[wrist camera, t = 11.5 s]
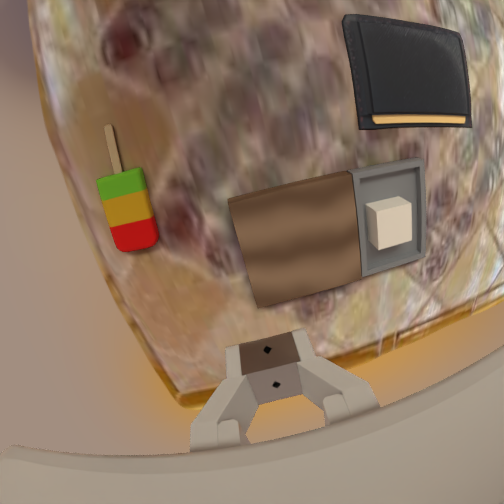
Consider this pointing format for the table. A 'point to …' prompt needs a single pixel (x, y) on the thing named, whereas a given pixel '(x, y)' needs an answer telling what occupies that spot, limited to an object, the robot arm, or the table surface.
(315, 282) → the ramp
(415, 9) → the table surface
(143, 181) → the popsicle
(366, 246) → the box
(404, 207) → the cream rectangular block
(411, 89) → the wallet
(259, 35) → the table surface
